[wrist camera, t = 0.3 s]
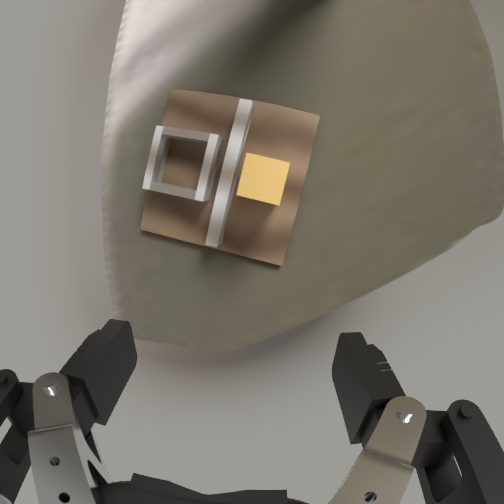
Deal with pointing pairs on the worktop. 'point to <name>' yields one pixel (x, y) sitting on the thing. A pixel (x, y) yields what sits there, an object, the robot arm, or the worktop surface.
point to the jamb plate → (224, 172)
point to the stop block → (263, 178)
